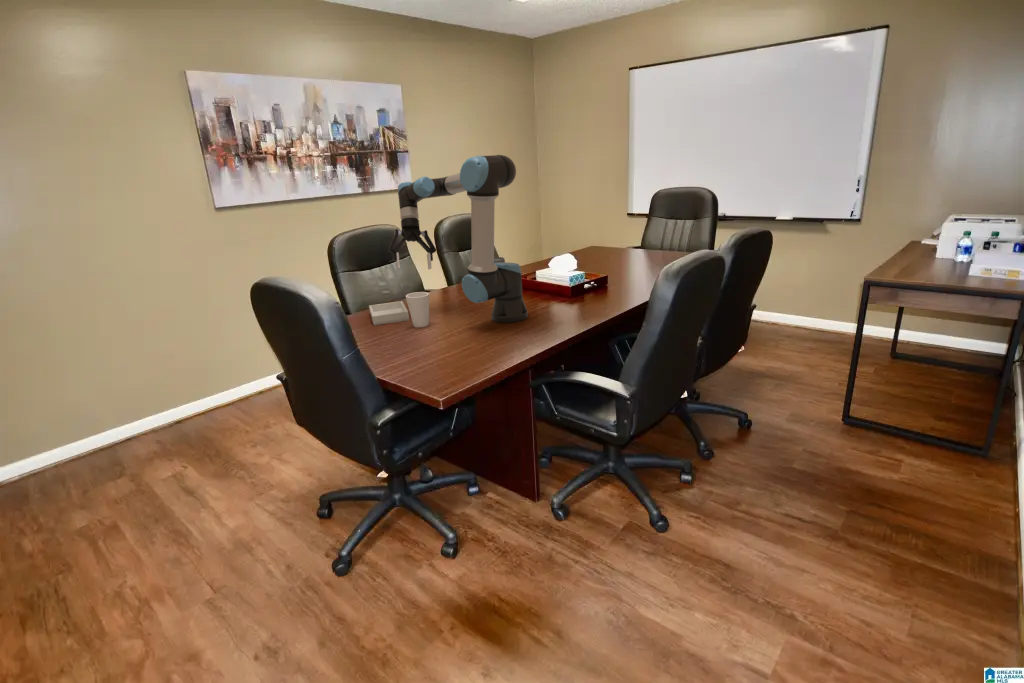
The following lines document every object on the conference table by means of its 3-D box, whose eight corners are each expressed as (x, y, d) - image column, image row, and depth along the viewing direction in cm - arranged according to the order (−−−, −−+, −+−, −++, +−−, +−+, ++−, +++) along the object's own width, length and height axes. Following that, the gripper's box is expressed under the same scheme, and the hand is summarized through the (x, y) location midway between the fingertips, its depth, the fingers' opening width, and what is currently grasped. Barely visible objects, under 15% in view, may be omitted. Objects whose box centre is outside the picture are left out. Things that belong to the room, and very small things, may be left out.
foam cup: (427, 328, 214) (423, 297, 210) (406, 328, 216) (402, 297, 212) (435, 321, 223) (431, 291, 218) (414, 321, 225) (411, 292, 220)
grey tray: (409, 320, 227) (408, 311, 226) (373, 325, 223) (372, 316, 222) (403, 309, 245) (402, 300, 244) (370, 314, 241) (368, 305, 240)
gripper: (435, 223, 233) (440, 270, 231) (378, 221, 222) (382, 270, 220) (440, 217, 226) (445, 266, 224) (381, 215, 215) (386, 266, 213)
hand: (414, 268), depth 222 cm, fingers open, 13 cm apart
